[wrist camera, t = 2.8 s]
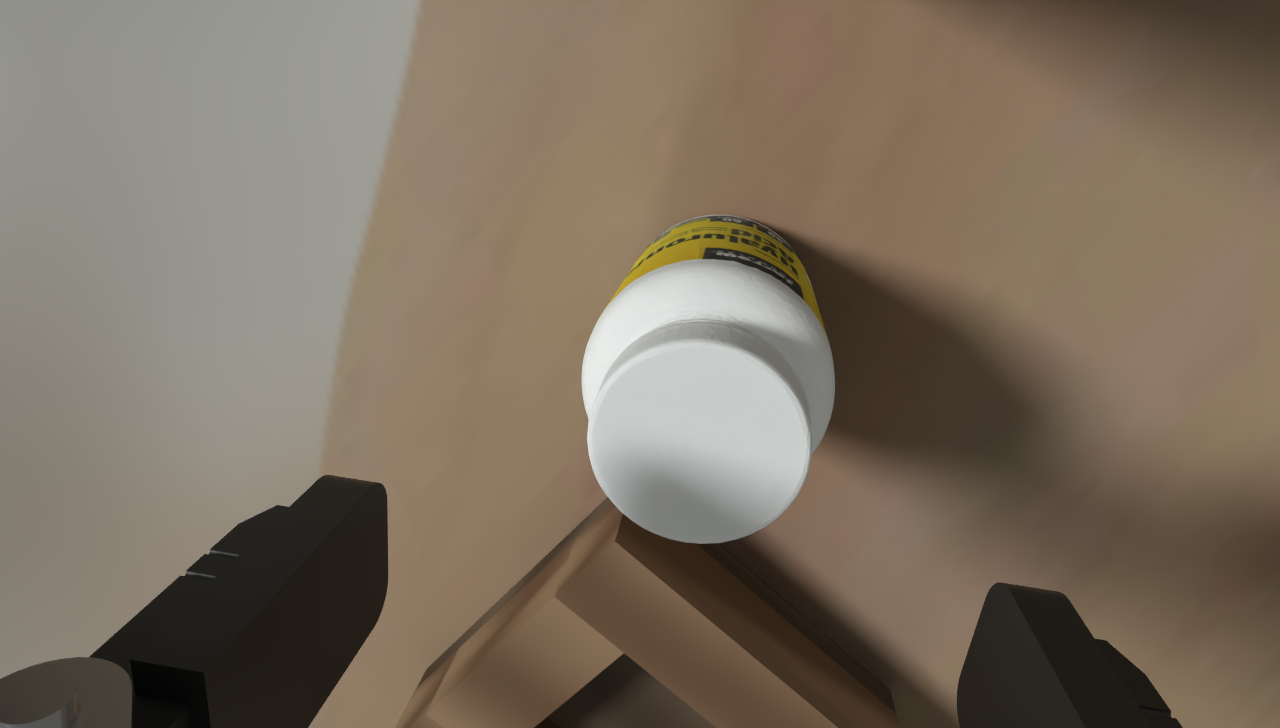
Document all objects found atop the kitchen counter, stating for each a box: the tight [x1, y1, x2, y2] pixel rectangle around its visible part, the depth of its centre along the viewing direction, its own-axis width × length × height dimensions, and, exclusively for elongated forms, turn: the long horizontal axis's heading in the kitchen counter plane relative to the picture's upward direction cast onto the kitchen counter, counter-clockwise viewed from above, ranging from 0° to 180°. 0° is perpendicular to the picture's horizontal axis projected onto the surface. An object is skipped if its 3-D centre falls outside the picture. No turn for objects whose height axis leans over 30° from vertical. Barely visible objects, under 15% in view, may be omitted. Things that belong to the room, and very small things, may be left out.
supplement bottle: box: [582, 214, 835, 544], centre depth 18 cm, size 5×5×10 cm
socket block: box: [395, 498, 899, 728], centre depth 26 cm, size 12×12×4 cm
